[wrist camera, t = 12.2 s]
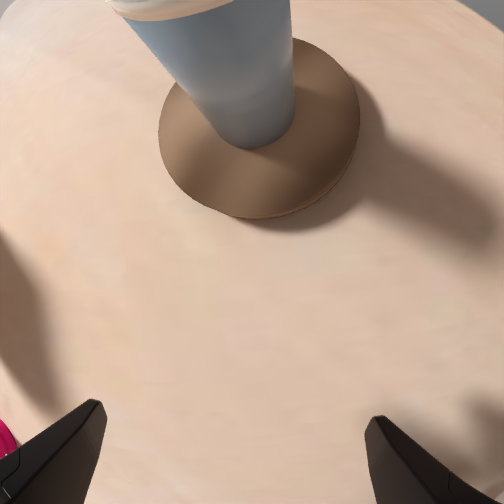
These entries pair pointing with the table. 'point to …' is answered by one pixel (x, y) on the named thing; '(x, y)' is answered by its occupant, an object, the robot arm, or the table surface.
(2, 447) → the pepper mill
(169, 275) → the table surface
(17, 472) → the robot arm
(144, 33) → the jar
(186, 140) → the trivet
